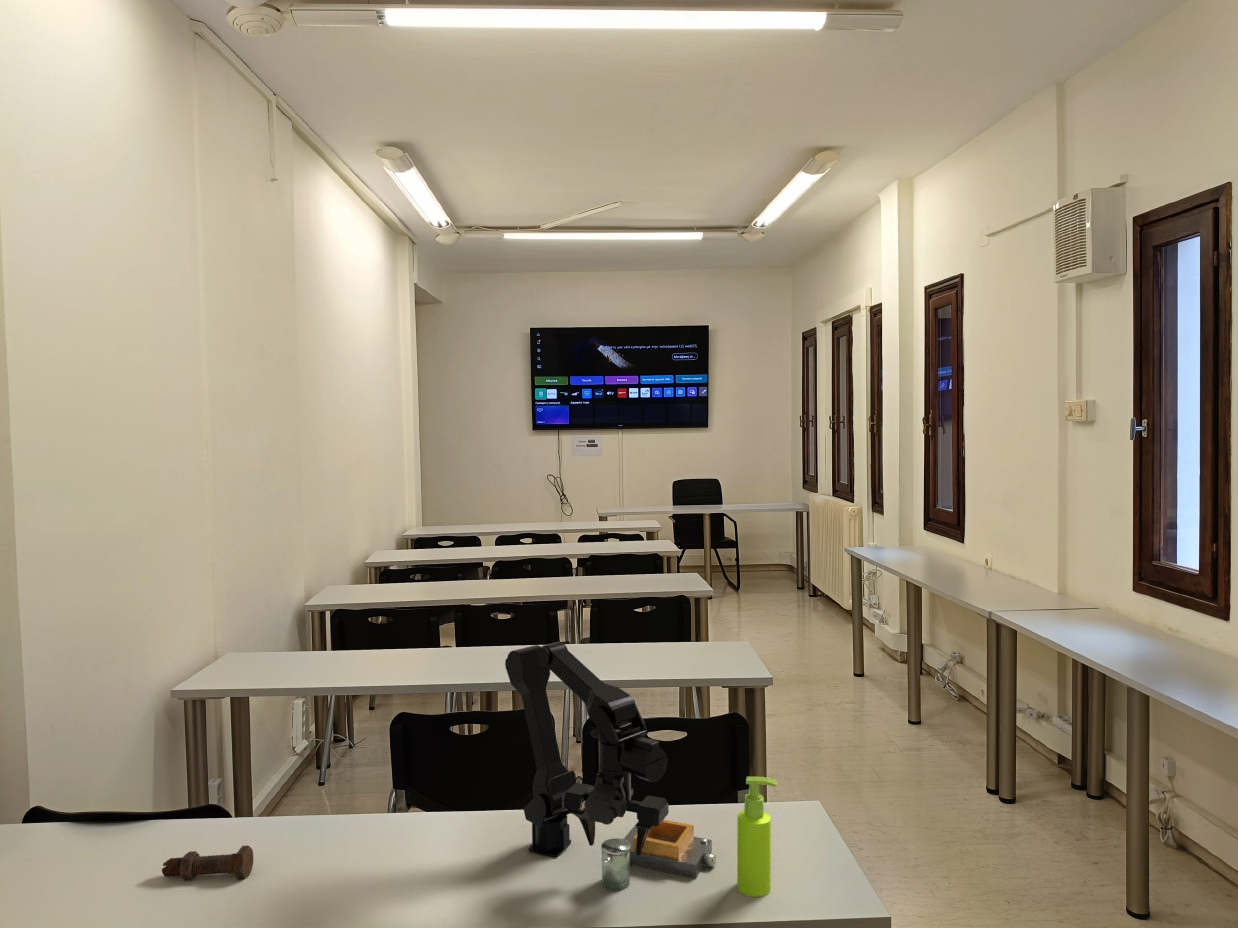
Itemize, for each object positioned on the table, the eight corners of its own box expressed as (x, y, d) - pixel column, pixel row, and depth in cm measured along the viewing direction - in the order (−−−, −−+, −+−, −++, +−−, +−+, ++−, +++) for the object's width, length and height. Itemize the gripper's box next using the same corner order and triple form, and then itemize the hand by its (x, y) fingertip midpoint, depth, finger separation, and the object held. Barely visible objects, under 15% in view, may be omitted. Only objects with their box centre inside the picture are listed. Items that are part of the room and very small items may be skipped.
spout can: (590, 895, 150) (590, 856, 149) (608, 872, 157) (608, 835, 157) (617, 901, 148) (617, 862, 147) (634, 878, 155) (634, 841, 155)
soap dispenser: (776, 899, 148) (776, 786, 147) (736, 894, 149) (736, 783, 148) (776, 881, 154) (777, 773, 153) (738, 877, 155) (738, 770, 154)
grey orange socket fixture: (615, 860, 161) (615, 835, 161) (634, 837, 170) (634, 812, 170) (706, 880, 154) (706, 853, 154) (721, 854, 163) (721, 829, 163)
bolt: (168, 885, 157) (251, 879, 158) (155, 885, 152) (241, 879, 153) (174, 850, 160) (255, 845, 160) (161, 849, 155) (245, 844, 156)
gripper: (547, 773, 149) (548, 860, 149) (647, 791, 141) (647, 882, 142) (575, 751, 159) (575, 832, 160) (669, 766, 152) (669, 851, 153)
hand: (615, 849), depth 153 cm, fingers open, 9 cm apart
